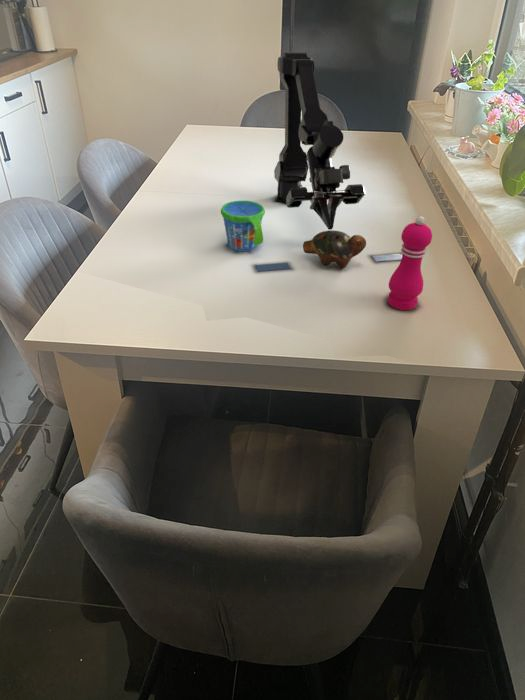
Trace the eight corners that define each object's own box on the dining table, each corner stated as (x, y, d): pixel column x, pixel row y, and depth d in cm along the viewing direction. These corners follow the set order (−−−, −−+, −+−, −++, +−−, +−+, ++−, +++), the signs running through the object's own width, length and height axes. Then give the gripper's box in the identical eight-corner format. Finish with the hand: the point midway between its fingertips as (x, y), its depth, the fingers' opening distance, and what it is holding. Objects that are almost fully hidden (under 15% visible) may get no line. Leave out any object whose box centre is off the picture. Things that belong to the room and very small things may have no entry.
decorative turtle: (363, 274, 129) (366, 244, 124) (300, 271, 131) (300, 241, 126) (365, 253, 136) (367, 224, 131) (304, 250, 138) (305, 222, 133)
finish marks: (255, 265, 131) (255, 265, 130) (400, 254, 138) (400, 253, 138) (258, 271, 128) (258, 271, 128) (405, 259, 136) (405, 259, 136)
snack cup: (211, 237, 142) (211, 199, 136) (248, 230, 146) (249, 194, 140) (235, 263, 131) (236, 223, 125) (274, 255, 135) (276, 216, 129)
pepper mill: (381, 294, 122) (398, 209, 110) (412, 294, 122) (432, 209, 110) (390, 312, 116) (408, 224, 104) (423, 311, 117) (445, 224, 105)
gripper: (292, 153, 124) (302, 218, 122) (368, 150, 128) (379, 213, 126) (281, 176, 135) (290, 236, 133) (352, 173, 139) (362, 231, 136)
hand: (330, 228), depth 131 cm, fingers closed, pressing on decorative turtle
